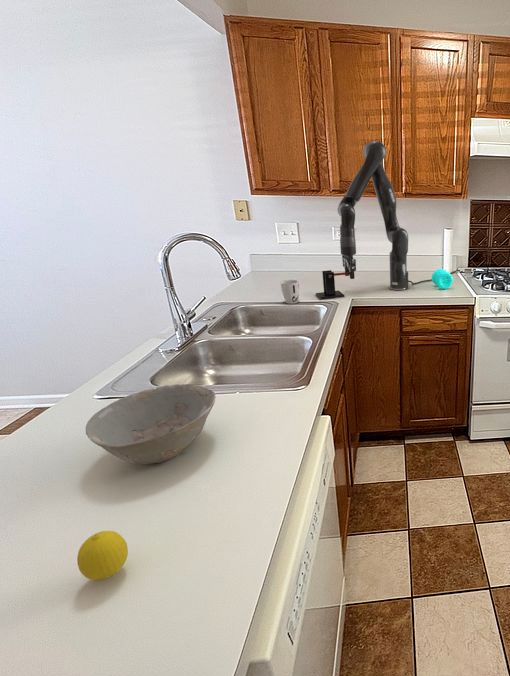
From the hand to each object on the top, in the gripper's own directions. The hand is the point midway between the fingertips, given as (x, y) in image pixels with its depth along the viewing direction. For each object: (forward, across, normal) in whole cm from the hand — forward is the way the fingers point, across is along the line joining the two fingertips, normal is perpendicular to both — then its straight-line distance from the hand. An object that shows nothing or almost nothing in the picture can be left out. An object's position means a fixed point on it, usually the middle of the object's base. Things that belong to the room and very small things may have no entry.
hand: (349, 277), depth 204 cm
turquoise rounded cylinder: (+9, -10, -50) cm, 52 cm away
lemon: (+9, -133, +84) cm, 158 cm away
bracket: (+9, 0, +11) cm, 14 cm away
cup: (+9, -2, +30) cm, 31 cm away
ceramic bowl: (+9, -102, +78) cm, 129 cm away
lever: (-1, 0, +6) cm, 6 cm away
